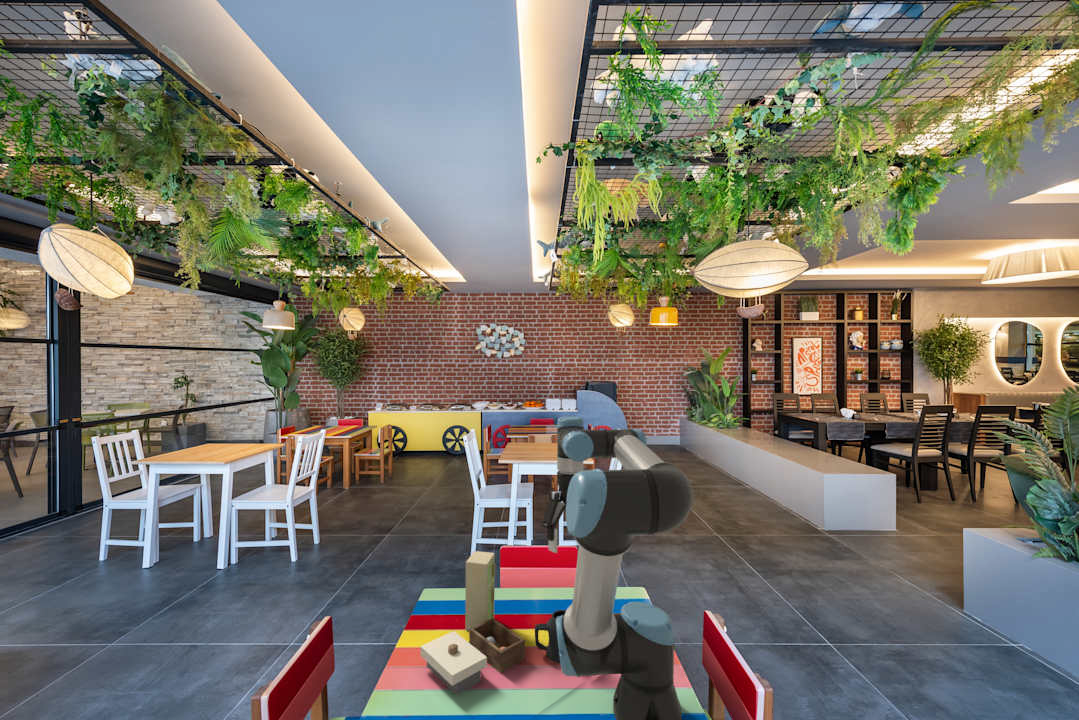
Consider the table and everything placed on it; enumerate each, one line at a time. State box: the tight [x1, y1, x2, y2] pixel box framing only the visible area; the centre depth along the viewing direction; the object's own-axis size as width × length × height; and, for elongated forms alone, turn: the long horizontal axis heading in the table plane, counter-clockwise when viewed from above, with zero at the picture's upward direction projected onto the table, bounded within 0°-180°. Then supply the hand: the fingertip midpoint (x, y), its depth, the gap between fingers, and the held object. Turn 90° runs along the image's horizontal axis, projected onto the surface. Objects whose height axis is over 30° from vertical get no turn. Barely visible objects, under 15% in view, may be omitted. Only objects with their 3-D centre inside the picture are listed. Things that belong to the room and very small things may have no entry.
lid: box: [420, 630, 488, 686], centre depth 120 cm, size 15×10×4 cm, turn 43°
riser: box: [426, 661, 482, 696], centre depth 120 cm, size 14×7×4 cm, turn 43°
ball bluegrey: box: [486, 637, 495, 645], centre depth 130 cm, size 3×3×3 cm
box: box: [468, 618, 526, 674], centre depth 128 cm, size 14×8×6 cm, turn 43°
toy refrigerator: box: [464, 550, 496, 632], centre depth 141 cm, size 8×7×21 cm
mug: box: [534, 609, 567, 665], centre depth 128 cm, size 12×9×11 cm
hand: (569, 544), depth 136 cm, fingers open, 13 cm apart
